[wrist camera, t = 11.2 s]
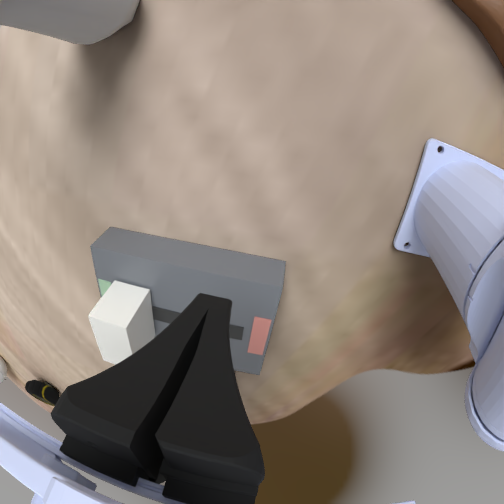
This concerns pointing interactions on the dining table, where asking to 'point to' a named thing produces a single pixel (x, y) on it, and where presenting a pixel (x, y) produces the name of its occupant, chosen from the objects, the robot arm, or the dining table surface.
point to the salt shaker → (69, 17)
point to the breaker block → (196, 284)
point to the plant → (487, 21)
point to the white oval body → (2, 370)
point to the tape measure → (42, 392)
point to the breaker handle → (122, 321)
